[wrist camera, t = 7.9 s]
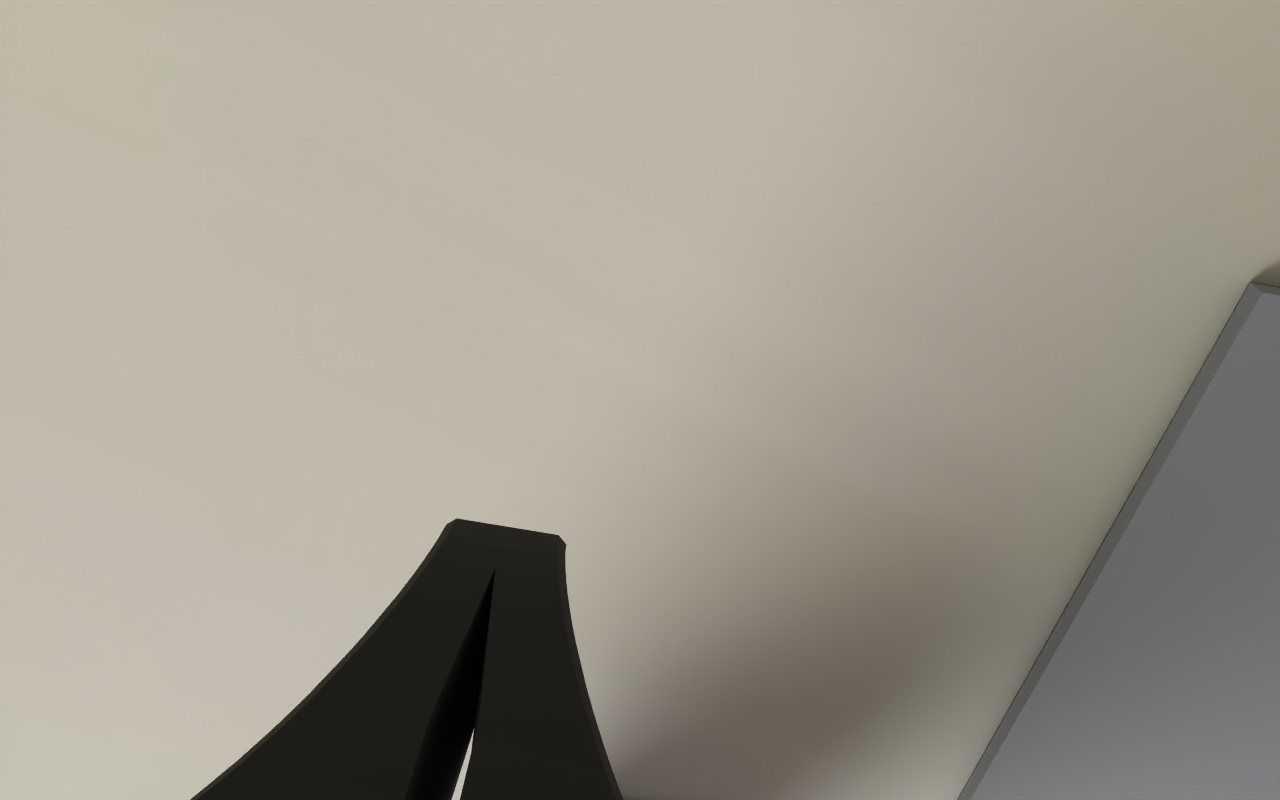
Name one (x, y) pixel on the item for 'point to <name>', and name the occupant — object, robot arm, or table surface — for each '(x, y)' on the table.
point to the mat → (1171, 613)
